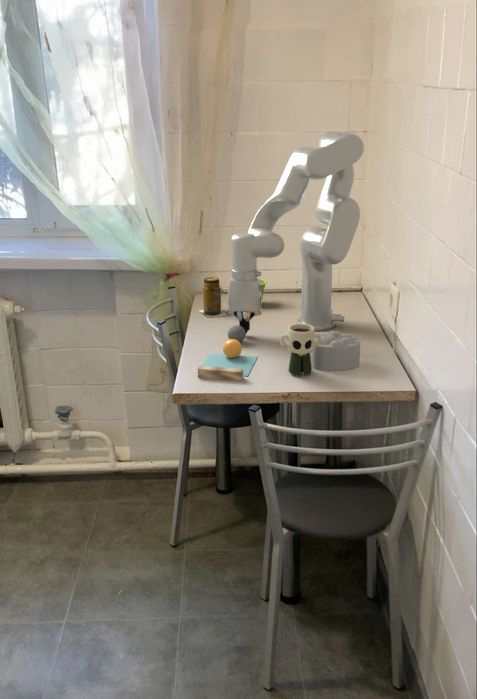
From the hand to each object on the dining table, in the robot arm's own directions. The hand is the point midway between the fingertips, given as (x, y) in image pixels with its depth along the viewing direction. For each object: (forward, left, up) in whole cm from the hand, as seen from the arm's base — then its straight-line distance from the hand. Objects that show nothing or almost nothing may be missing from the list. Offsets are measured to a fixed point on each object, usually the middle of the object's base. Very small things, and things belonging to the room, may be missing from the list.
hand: (244, 332), depth 206 cm
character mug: (-21, +25, -2) cm, 32 cm away
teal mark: (0, +23, -2) cm, 23 cm away
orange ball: (0, +18, +1) cm, 18 cm away
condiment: (+15, -21, -2) cm, 26 cm away
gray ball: (+1, +6, +1) cm, 6 cm away
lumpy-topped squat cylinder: (-30, +17, -2) cm, 34 cm away
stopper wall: (0, +32, -2) cm, 32 cm away
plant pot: (+3, -32, -2) cm, 32 cm away
